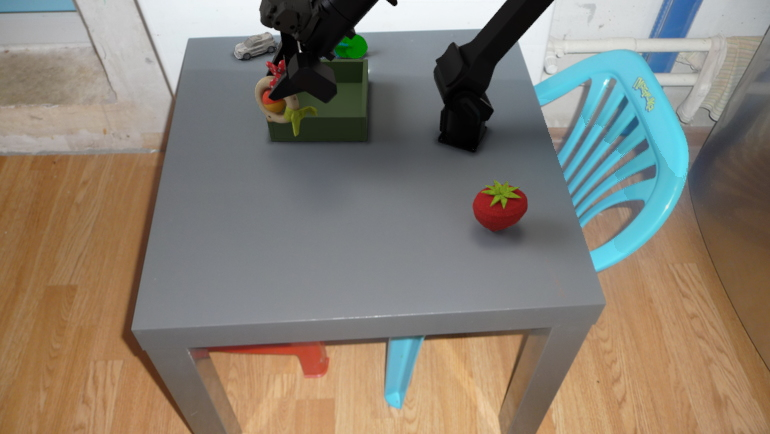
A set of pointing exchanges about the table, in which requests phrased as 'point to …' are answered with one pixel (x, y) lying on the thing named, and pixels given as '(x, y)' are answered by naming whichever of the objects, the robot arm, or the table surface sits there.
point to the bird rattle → (276, 107)
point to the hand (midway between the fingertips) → (269, 88)
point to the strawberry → (499, 206)
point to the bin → (333, 108)
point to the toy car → (255, 46)
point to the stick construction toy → (351, 47)
